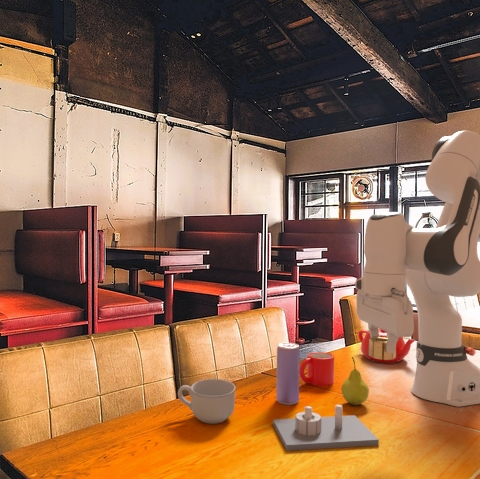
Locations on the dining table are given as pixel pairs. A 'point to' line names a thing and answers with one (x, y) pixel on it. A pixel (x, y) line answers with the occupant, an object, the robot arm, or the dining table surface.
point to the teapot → (401, 347)
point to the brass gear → (380, 349)
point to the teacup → (210, 399)
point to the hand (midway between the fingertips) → (382, 348)
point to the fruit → (355, 388)
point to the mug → (318, 369)
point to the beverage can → (287, 373)
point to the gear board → (323, 431)
